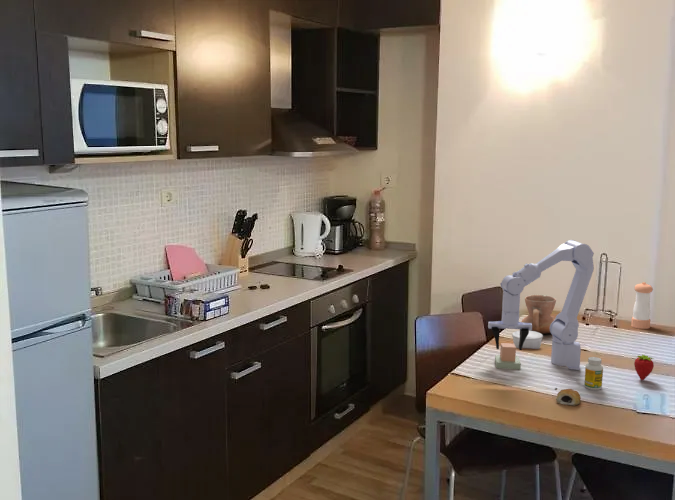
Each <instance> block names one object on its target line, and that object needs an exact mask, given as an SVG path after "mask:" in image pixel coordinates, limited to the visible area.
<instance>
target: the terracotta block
mask: <svg viewBox="0 0 675 500" xmlns="http://www.w3.org/2000/svg"><path fill="white" fill-rule="evenodd" d="M499 350H500V352H499V355H500V358H501V360H502V361H515V357H516V356H517V355H516V353H517V348H516V346H515V345H514V342H513V343H512V342H511V343H510V342H507V343H506V342H500V347H499Z"/></svg>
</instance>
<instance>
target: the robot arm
mask: <svg viewBox="0 0 675 500" xmlns="http://www.w3.org/2000/svg"><path fill="white" fill-rule="evenodd" d="M594 254H595V253H594V251H593V250H592V248H591V247H590V246H589V245H588V244H586V243H582V242H580V241H576V240H574V239H569V240H566V241H565V242H564V243H561V244H560V245H559V246H558V247H557V248H556V249H554V250H553V251H552V252H550V253H548V254H547V255H546V256H545V257H542V259H540V260H539V261H538V262H536V263H533V262H530V263H525V264H524V265H523V267H521V268H520V269H519V270H517V271H513V272H512V273H511V274H512V275H511V274H507V275H505V276H504V277H503V278H502V280H501V282H500V283H499V284H500V288H502V304H501V307H502V309H501V310H502V311H501V320H498V321H497V320H496V321H487V322H488V325H487V327H488V329H489V330H490V329H491V331H492V334H493V336H494V337H493V338H494V341H495V348H496V350H500V332H501V331H500V329H503V330H505V329H507V330H508V329H509V330H510V329H511V330H519V331H520V340H519V348H518V350H519V351H522V350H523V348H522V346H523V343H524V341H525V339H526V337H527V336H528V334H529V330H532V324H531V323H523V322H521V321H520V306H521V293H522V292H523V291H524V288H525V287H526V286H528V285H530V284H532V283H533V282H535V281H536V280H537V279H539V278H541V275H542V272H544V271H545V270H548V269H549V268H551V267H553V266H555V265H557V264H558V263H560V262H562V261H563V262H571V263H572V265H573V267H574V269H575V272H574V275H573V278H572V279H571V280H572V281H571V283H570V286H569V289H568V291H567V294H566V297H565V301H564V304H563V306H562V308H561V311H560V312H559V313H558V314H557V315H556V316H555V318H554V319H555V320H554V321H553V322H552V323H551V325H550V332H551V333H550V335H552V340H551V355H550V356H551V357H550V363H551V364H552V365H556V366H561V367H567V369H568V370H575V371H578V370H581V353H582V349H581V348H582V347H581V344H580V342H579V341H577V339H578V338H579V326H580V324H579V321H578V315H579V312H580V309H581V307H582V304H583V301H584V299H585V295H586V294H587V293H586V292H587V290H588V287H589V283H590V281H591V278H592V276H593V272H594V269H595V268H594V260H593V259H594V258H593V257H594Z"/></svg>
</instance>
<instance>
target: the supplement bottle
mask: <svg viewBox="0 0 675 500" xmlns="http://www.w3.org/2000/svg"><path fill="white" fill-rule="evenodd" d="M587 359H588V360H587V364H586V365H585V367H584V387H585V388H586V389H588V390H590V391H599V390H601V389H602V387H603V378H604V377H603V373H604V366H603V365H602V358H600V357H597V356H589V357H588V358H587Z"/></svg>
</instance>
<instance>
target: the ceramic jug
mask: <svg viewBox="0 0 675 500" xmlns="http://www.w3.org/2000/svg"><path fill="white" fill-rule="evenodd" d="M524 302H525V307H526V309H527V312H528V313H529V314H528V315H527V316H525V317H524V318H522V320H521V321H520V322H523V323H531V324H532V330H529V331H535V332H538V333H541V334H542V335H546V334H551V332H550V325H551V323H552V322H553V321H554V320H555V318H553V317H552V316H551V315H552V314H553V311H554V310H555V309H554V308H555V306H556V304H557V303H556V302H557V298H556V297H553V296H552V295H544V294H530V295H527V296H525V297H524Z"/></svg>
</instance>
